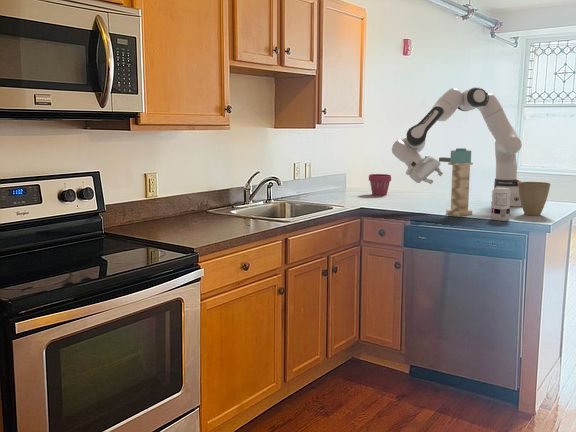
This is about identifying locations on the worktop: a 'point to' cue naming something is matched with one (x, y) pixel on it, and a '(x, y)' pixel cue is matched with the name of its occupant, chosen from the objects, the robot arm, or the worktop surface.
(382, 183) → the plant pot
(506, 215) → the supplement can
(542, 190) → the plant pot
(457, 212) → the birch stand
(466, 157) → the teal cap handle
